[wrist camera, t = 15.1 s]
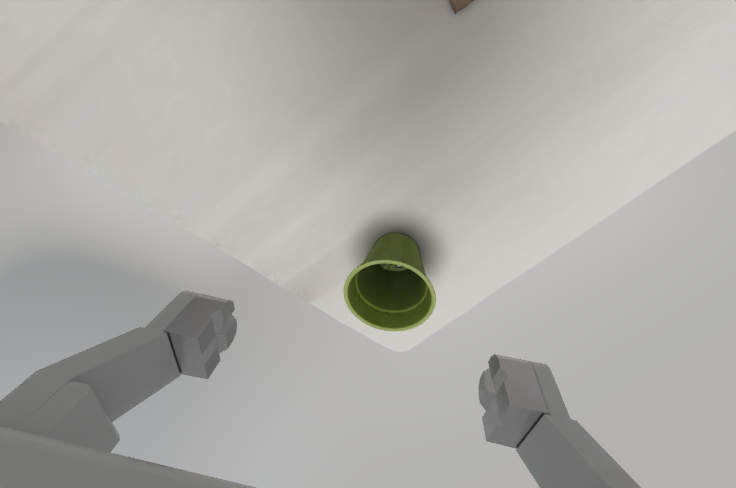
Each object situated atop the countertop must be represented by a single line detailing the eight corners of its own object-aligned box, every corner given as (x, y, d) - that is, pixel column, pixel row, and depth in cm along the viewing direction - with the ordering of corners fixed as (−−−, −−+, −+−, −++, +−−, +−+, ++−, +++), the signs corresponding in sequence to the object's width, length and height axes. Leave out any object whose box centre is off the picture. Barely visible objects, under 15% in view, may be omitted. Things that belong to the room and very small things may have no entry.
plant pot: (397, 202, 45) (390, 243, 36) (449, 255, 49) (455, 305, 39) (343, 247, 51) (325, 292, 41) (393, 292, 54) (387, 343, 45)
